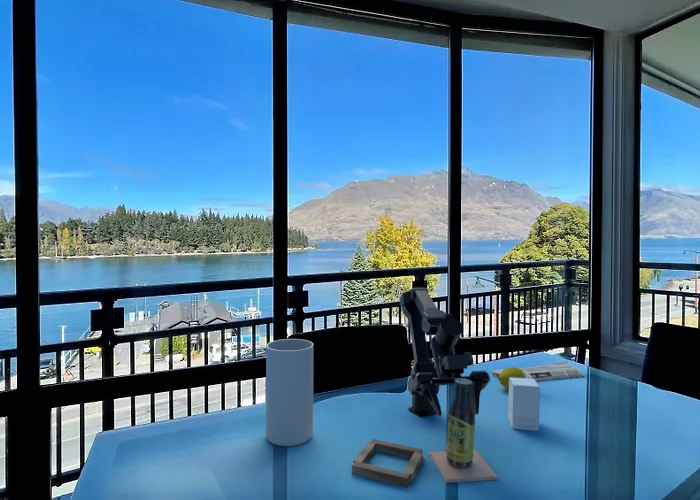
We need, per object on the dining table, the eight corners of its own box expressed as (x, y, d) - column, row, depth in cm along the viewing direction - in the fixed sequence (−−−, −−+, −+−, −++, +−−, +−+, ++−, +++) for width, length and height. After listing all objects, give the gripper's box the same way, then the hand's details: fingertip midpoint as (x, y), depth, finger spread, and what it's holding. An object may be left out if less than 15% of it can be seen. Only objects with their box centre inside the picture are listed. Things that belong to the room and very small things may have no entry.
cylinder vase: (320, 430, 120) (320, 341, 119) (300, 451, 109) (301, 353, 108) (280, 423, 124) (280, 337, 124) (257, 443, 113) (257, 348, 112)
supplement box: (539, 431, 121) (540, 387, 120) (511, 428, 122) (512, 384, 122) (533, 420, 128) (534, 378, 127) (507, 418, 129) (508, 376, 129)
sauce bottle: (440, 460, 103) (442, 378, 102) (458, 453, 107) (459, 373, 106) (462, 473, 98) (463, 386, 97) (479, 465, 101) (481, 381, 100)
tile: (429, 455, 107) (429, 452, 107) (475, 452, 109) (475, 449, 109) (445, 482, 95) (445, 479, 95) (497, 479, 97) (497, 476, 97)
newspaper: (508, 385, 159) (508, 376, 159) (488, 374, 171) (489, 366, 171) (586, 378, 168) (587, 369, 168) (563, 368, 180) (563, 360, 180)
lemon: (519, 385, 158) (520, 363, 158) (532, 393, 150) (532, 370, 150) (492, 386, 156) (492, 365, 156) (503, 394, 148) (503, 371, 148)
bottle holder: (371, 446, 112) (371, 438, 111) (424, 457, 106) (424, 449, 106) (349, 473, 99) (349, 464, 99) (409, 488, 93) (409, 478, 93)
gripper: (416, 341, 107) (429, 402, 97) (488, 339, 109) (507, 399, 99) (407, 362, 115) (418, 421, 105) (474, 360, 117) (491, 418, 107)
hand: (459, 414), depth 104 cm, fingers open, 9 cm apart
